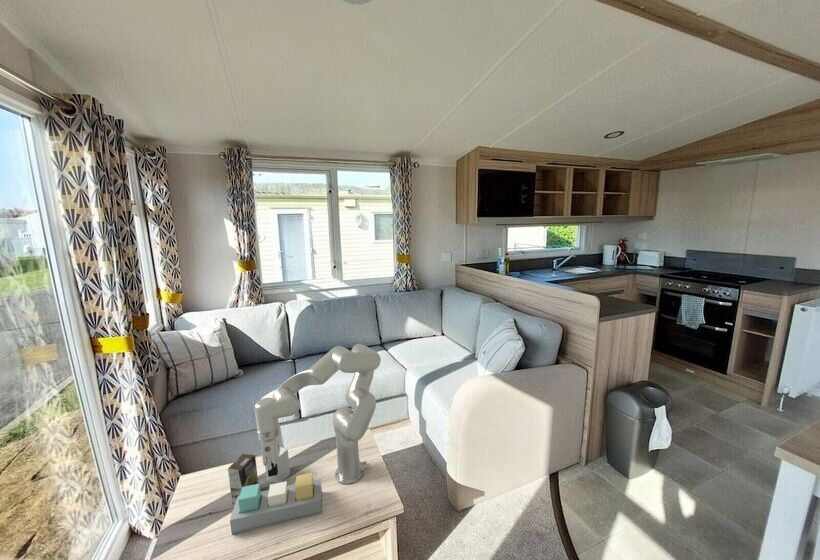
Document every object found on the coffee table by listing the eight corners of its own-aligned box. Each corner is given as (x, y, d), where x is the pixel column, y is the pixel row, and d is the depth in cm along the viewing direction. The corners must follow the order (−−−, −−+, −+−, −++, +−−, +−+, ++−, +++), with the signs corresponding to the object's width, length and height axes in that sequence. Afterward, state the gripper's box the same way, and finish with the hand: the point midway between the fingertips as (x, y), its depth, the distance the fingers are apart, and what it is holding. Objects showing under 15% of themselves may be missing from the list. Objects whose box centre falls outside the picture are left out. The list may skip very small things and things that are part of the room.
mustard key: (313, 487, 134) (312, 472, 133) (313, 499, 128) (311, 484, 127) (297, 491, 133) (296, 476, 131) (296, 503, 127) (295, 487, 126)
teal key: (261, 498, 129) (259, 483, 128) (258, 512, 123) (256, 496, 122) (244, 502, 128) (242, 487, 127) (240, 516, 122) (238, 499, 121)
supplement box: (291, 473, 149) (288, 449, 146) (278, 485, 142) (275, 459, 140) (279, 469, 152) (276, 444, 149) (266, 480, 145) (263, 455, 143)
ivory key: (288, 496, 132) (286, 481, 131) (286, 509, 126) (285, 493, 125) (272, 499, 130) (270, 484, 129) (269, 512, 125) (267, 497, 123)
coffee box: (245, 505, 132) (240, 470, 129) (231, 503, 133) (226, 468, 131) (259, 487, 141) (255, 454, 138) (246, 485, 142) (242, 452, 139)
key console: (321, 491, 138) (320, 478, 137) (321, 513, 127) (320, 500, 126) (239, 509, 130) (237, 496, 129) (231, 534, 120) (229, 520, 119)
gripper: (276, 442, 116) (281, 487, 119) (281, 418, 131) (285, 459, 134) (253, 446, 114) (259, 491, 118) (261, 421, 129) (266, 462, 132)
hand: (273, 474), depth 126 cm, fingers closed
